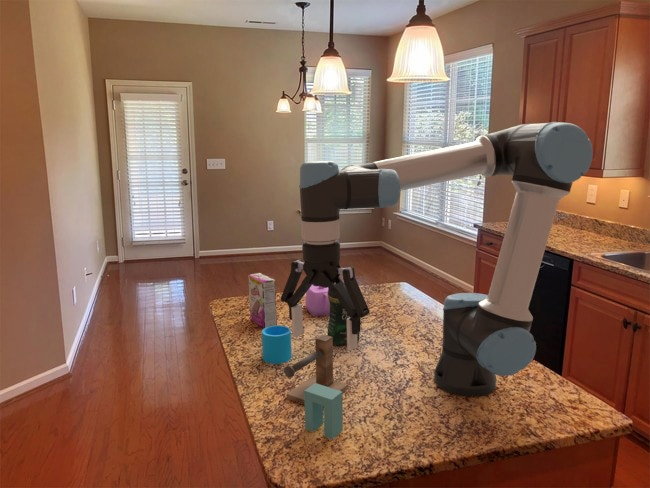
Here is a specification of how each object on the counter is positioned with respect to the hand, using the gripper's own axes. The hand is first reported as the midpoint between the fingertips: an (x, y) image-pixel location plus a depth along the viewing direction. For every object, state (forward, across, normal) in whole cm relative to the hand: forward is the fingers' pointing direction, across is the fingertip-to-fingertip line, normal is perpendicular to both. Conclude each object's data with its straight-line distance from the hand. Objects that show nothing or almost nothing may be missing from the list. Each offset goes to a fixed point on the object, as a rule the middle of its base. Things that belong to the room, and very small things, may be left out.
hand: (324, 341), depth 103 cm
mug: (+20, +34, -24) cm, 46 cm away
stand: (+20, +10, -9) cm, 24 cm away
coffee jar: (+21, +22, -42) cm, 52 cm away
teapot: (+21, +45, -62) cm, 79 cm away
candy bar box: (+20, +54, -40) cm, 70 cm away
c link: (+20, 0, 0) cm, 20 cm away
